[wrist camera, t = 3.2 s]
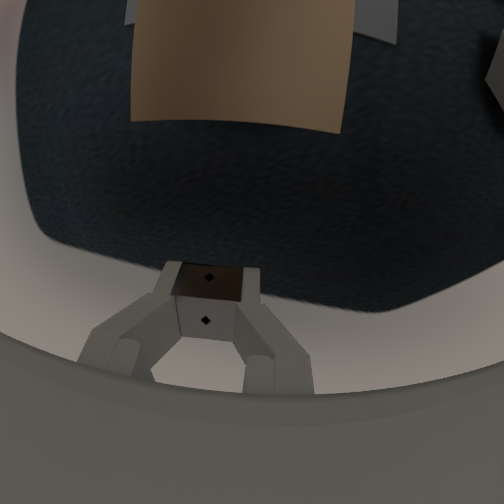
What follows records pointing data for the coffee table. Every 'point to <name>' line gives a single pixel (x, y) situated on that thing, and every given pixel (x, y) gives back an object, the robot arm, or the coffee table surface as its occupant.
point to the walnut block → (242, 61)
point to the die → (497, 73)
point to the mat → (365, 19)
